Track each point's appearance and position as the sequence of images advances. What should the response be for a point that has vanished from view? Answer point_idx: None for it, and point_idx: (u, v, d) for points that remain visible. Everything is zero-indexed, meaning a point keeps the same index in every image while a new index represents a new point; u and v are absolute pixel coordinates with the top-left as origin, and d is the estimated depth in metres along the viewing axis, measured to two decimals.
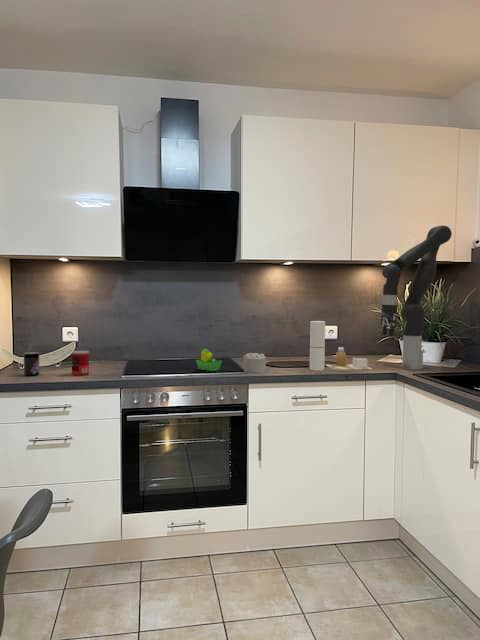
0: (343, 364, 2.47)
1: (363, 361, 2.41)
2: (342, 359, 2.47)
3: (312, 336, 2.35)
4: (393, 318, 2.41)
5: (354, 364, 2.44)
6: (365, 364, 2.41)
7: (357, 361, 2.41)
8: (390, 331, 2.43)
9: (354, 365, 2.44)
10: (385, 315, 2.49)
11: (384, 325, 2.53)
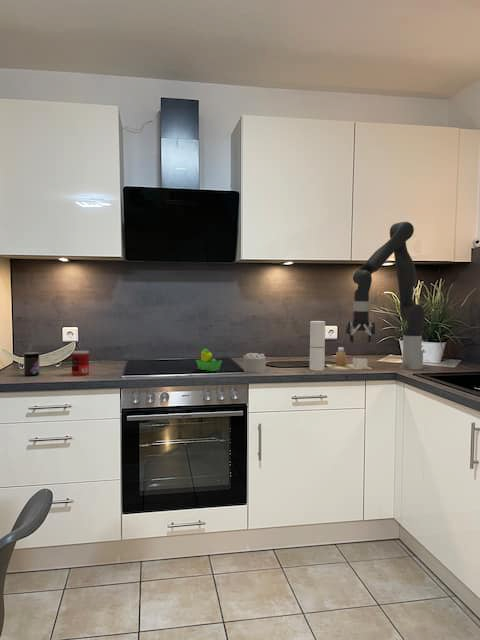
0: (343, 364, 2.47)
1: (363, 361, 2.41)
2: (342, 359, 2.47)
3: (312, 336, 2.35)
4: None
5: (354, 364, 2.44)
6: (365, 364, 2.41)
7: (357, 361, 2.41)
8: (370, 337, 2.43)
9: (354, 365, 2.44)
10: (358, 322, 2.41)
11: None
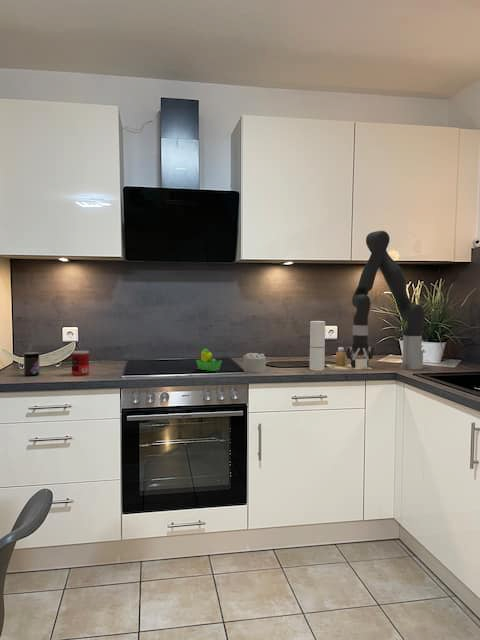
0: (343, 364, 2.47)
1: (363, 361, 2.41)
2: (342, 359, 2.47)
3: (312, 336, 2.35)
4: None
5: None
6: (365, 364, 2.41)
7: (357, 361, 2.41)
8: (367, 362, 2.44)
9: None
10: (357, 346, 2.42)
11: (353, 357, 2.43)
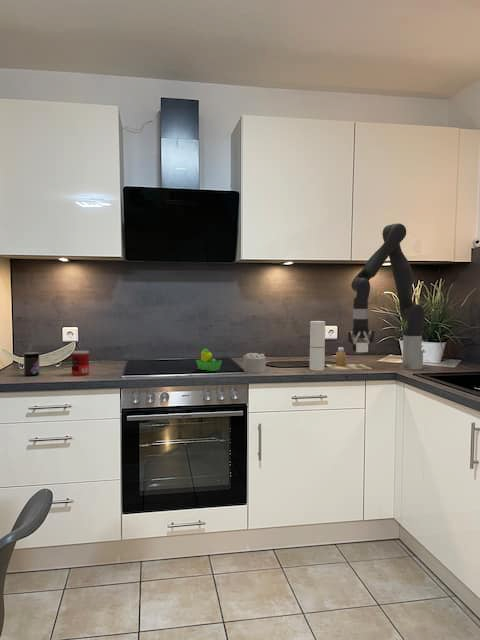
0: (343, 364, 2.47)
1: (364, 345, 2.41)
2: (342, 359, 2.47)
3: (312, 336, 2.35)
4: None
5: None
6: (366, 348, 2.41)
7: (358, 345, 2.41)
8: (368, 346, 2.43)
9: None
10: (358, 330, 2.42)
11: (354, 341, 2.43)
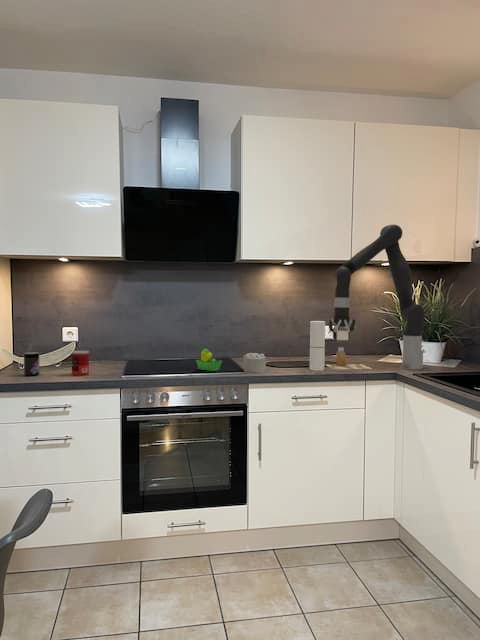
0: (343, 364, 2.47)
1: (344, 333, 2.46)
2: (342, 359, 2.47)
3: (312, 336, 2.35)
4: None
5: None
6: (346, 336, 2.46)
7: (338, 333, 2.45)
8: (348, 334, 2.48)
9: None
10: (339, 318, 2.47)
11: None
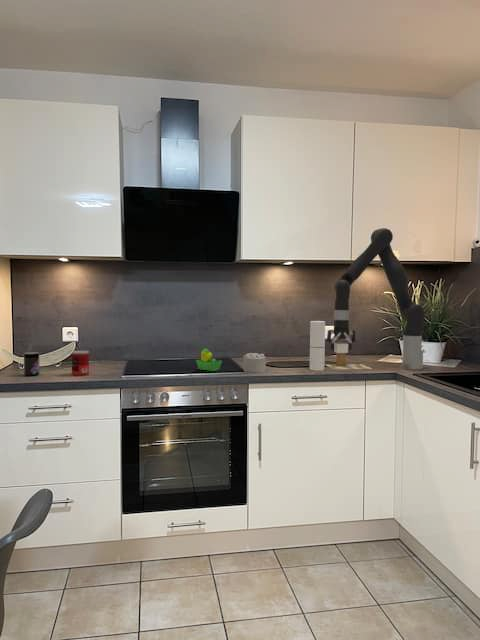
0: (343, 364, 2.47)
1: (344, 346, 2.46)
2: (342, 359, 2.47)
3: (312, 336, 2.35)
4: None
5: (335, 349, 2.48)
6: (346, 349, 2.46)
7: (338, 346, 2.46)
8: (350, 345, 2.48)
9: (335, 350, 2.48)
10: (338, 330, 2.47)
11: None
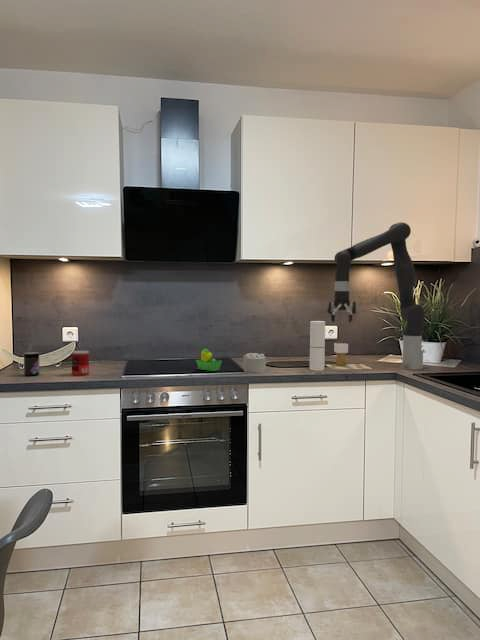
0: (343, 364, 2.47)
1: (344, 346, 2.46)
2: (342, 359, 2.47)
3: (312, 336, 2.35)
4: None
5: (335, 349, 2.48)
6: (346, 349, 2.46)
7: (338, 346, 2.46)
8: (351, 317, 2.48)
9: (335, 350, 2.48)
10: (339, 302, 2.46)
11: None
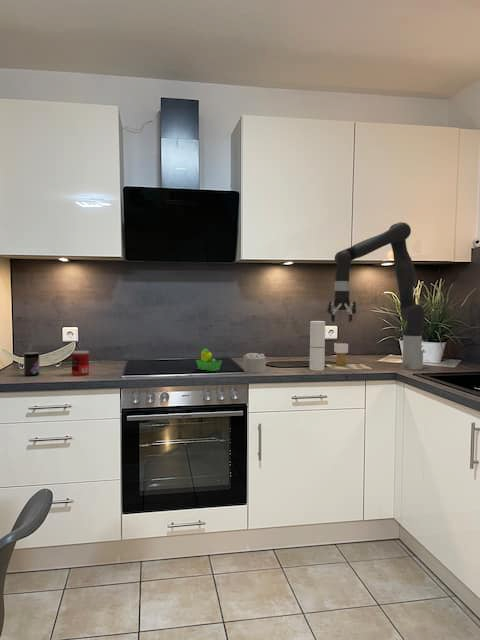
0: (343, 364, 2.47)
1: (344, 346, 2.46)
2: (342, 359, 2.47)
3: (312, 336, 2.35)
4: None
5: (335, 349, 2.48)
6: (346, 349, 2.46)
7: (338, 346, 2.46)
8: (351, 317, 2.48)
9: (335, 350, 2.48)
10: (339, 301, 2.46)
11: None
